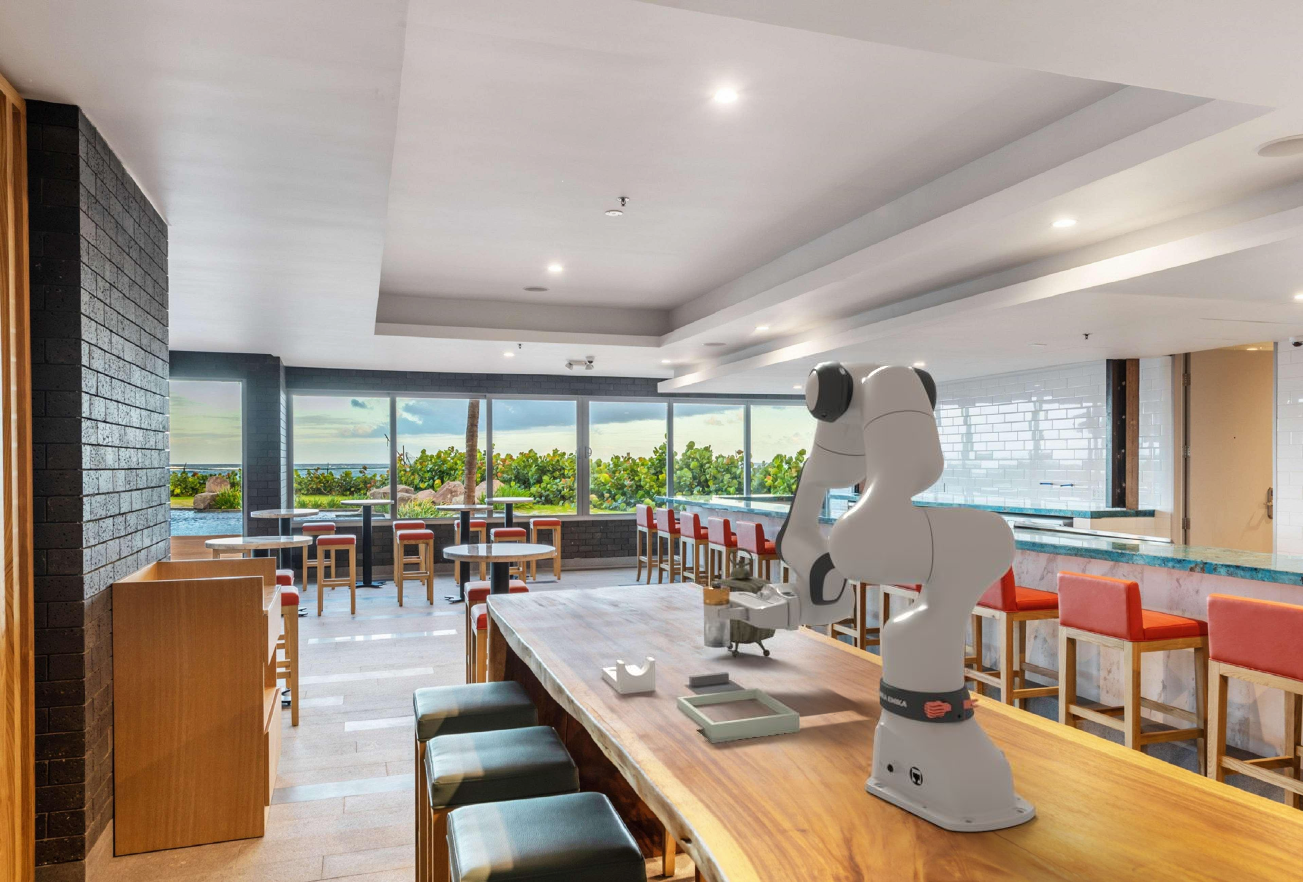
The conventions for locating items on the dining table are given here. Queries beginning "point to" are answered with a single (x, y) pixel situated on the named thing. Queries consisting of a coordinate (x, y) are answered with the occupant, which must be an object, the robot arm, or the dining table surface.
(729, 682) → the block
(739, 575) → the tabletop clock
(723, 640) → the battery cell
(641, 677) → the bracket
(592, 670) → the dining table surface
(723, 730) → the tray
